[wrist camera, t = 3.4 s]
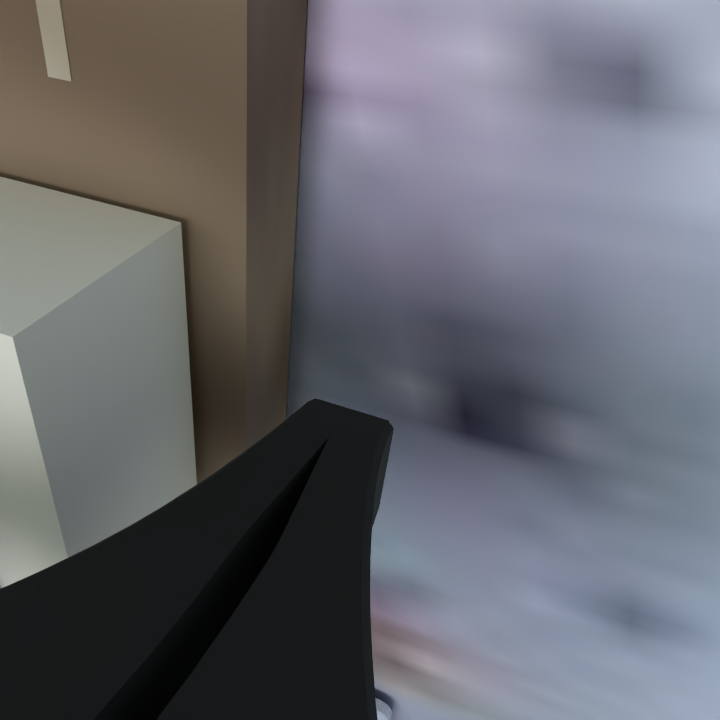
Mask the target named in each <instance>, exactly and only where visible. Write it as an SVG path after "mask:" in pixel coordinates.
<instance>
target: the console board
mask: <svg viewBox="0 0 720 720" xmlns="http://www.w3.org/2000/svg"><path fill="white" fill-rule="evenodd" d="M306 19H307V0H0V177H4V178H8V179H12V180H16V181H20V182H24V183H28V184H32V185H36V186H40V187H44V188H48V189H51V190H55V191H59V192H63V193H67V194H71V195H75V196H79V197H83V198H87V199H91V200H95V201H99V202H103V203H107V204H110V205H114V206H118V207H122V208H126V209H130V210H134V211H138V212H142V213H146V214H150V215H154V216H158V217H162V218H166V219H169V220H173V221H177V222H181V229H182V245H183V262H184V279H185V295H186V312H187V328H188V345H189V362H190V378H191V395H192V411H193V428H194V444H195V461H196V478H197V484H198V483H200V482H201V481H203V480H205V479H206V478H208V477H209V476H210V475H212V474H213V473H215V472H216V471H218V470H219V469H221V468H222V467H223V466H225V465H226V464H228V463H229V462H230V461H232V460H233V459H235V458H236V457H237V456H239V455H240V454H242V453H243V452H244V451H246V450H247V449H248V448H250V447H251V446H253V445H254V444H255V443H257V442H258V441H259V440H261V439H262V438H263V437H264V436H266V435H267V434H268V433H270V432H271V431H272V430H274V429H275V428H276V427H277V426H279V425H280V424H281V423H283V422H284V421H285V420H286V409H287V390H288V370H289V351H290V331H291V312H292V292H293V273H294V253H295V234H296V214H297V194H298V175H299V155H300V136H301V116H302V97H303V77H304V58H305V38H306Z"/></svg>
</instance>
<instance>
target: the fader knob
mask: <svg viewBox="0 0 720 720" xmlns="http://www.w3.org/2000/svg"><path fill="white" fill-rule="evenodd" d="M195 485H197V478H196V461H195V444H194V428H193V411H192V395H191V378H190V362H189V345H188V328H187V312H186V295H185V279H184V262H183V245H182V229H181V222H177V221H173V220H169V219H166V218H162V217H158V216H154V215H150V214H146V213H142V212H138V211H134V210H130V209H126V208H122V207H118V206H114V205H110V204H107V203H103V202H99V201H95V200H91V199H87V198H83V197H79V196H75V195H71V194H67V193H63V192H59V191H55V190H51V189H48V188H44V187H40V186H36V185H32V184H28V183H24V182H20V181H16V180H12V179H8V178H4V177H0V589H1V588H3V587H6V586H8V585H10V584H12V583H15V582H17V581H19V580H22V579H24V578H26V577H28V576H30V575H33V574H35V573H37V572H39V571H41V570H44V569H46V568H48V567H50V566H52V565H54V564H56V563H58V562H60V561H62V560H64V559H66V558H68V557H70V556H72V555H74V554H76V553H78V552H81V551H83V550H85V549H87V548H89V547H91V546H93V545H95V544H97V543H98V542H100V541H102V540H104V539H106V538H108V537H110V536H111V535H113V534H115V533H117V532H119V531H121V530H123V529H124V528H126V527H128V526H130V525H132V524H133V523H135V522H137V521H139V520H140V519H142V518H144V517H145V516H147V515H149V514H151V513H152V512H154V511H156V510H157V509H159V508H161V507H162V506H164V505H165V504H167V503H169V502H170V501H172V500H173V499H175V498H176V497H178V496H180V495H181V494H183V493H184V492H186V491H187V490H189V489H190V488H192V487H194V486H195Z"/></svg>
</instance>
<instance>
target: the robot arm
mask: <svg viewBox="0 0 720 720" xmlns="http://www.w3.org/2000/svg"><path fill="white" fill-rule="evenodd" d="M393 429H394V428H393V427H392V425H391V424H390V423H389V421H388V420H385V419H382V418H378V417H375V416H372V415H368V414H365V413H362V412H359V411H355V410H352V409H349V408H345V407H342V406H339V405H335V404H332V403H329V402H326V401H322V400H319V399H316V398H315V399H313V400H311V401H309V402H307V403H306V404H305V405H304V406H302V407H301V408H300V409H299V410H297V411H296V412H295V413H294V414H293V415H291V416H290V417H289V418H288V419H286V420H285V421H284V422H283V423H281V424H280V425H279V426H277V427H276V428H275V429H274V430H272V431H271V432H270V433H268V434H267V435H266V436H264V437H263V438H262V439H261V440H259V441H258V442H257V443H255V444H254V445H253V446H251V447H250V448H248V449H247V450H246V451H244V452H243V453H242V454H240V455H239V456H237V457H236V458H235V459H233V460H232V461H230V462H229V463H228V464H226V465H225V466H223V467H222V468H221V469H219V470H218V471H216V472H215V473H213V474H212V475H210V476H209V477H208V478H206V479H205V480H203V481H201V482H200V483H198V484H197V485H195V486H194V487H192V488H190V489H189V490H187V491H186V492H184V493H183V494H181V495H180V496H178V497H176V498H175V499H173V500H172V501H170V502H169V503H167V504H165V505H164V506H162V507H161V508H159V509H157V510H156V511H154V512H152V513H151V514H149V515H147V516H145V517H144V518H142V519H140V520H139V521H137V522H135V523H133V524H132V525H130V526H128V527H126V528H124V529H123V530H121V531H119V532H117V533H115V534H113V535H111V536H110V537H108V538H106V539H104V540H102V541H100V542H98V543H97V544H95V545H93V546H91V547H89V548H87V549H85V550H83V551H81V552H78V553H76V554H74V555H72V556H70V557H68V558H66V559H64V560H62V561H60V562H58V563H56V564H54V565H52V566H50V567H48V568H46V569H44V570H41V571H39V572H37V573H35V574H33V575H30V576H28V577H26V578H24V579H22V580H19V581H17V582H15V583H12V584H10V585H8V586H6V587H3V588H1V589H0V720H390V719H391V716H392V711H391V709H390V707H389V706H388V705H387V704H386V703H385V702H383V701H381V700H379V699H377V698H375V688H374V674H373V660H372V641H371V619H370V554H371V534H372V527H373V524H374V520H375V517H376V514H377V511H378V508H379V504H380V499H381V493H382V488H383V482H384V477H385V472H386V466H387V461H388V456H389V450H390V445H391V440H392V434H393Z"/></svg>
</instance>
